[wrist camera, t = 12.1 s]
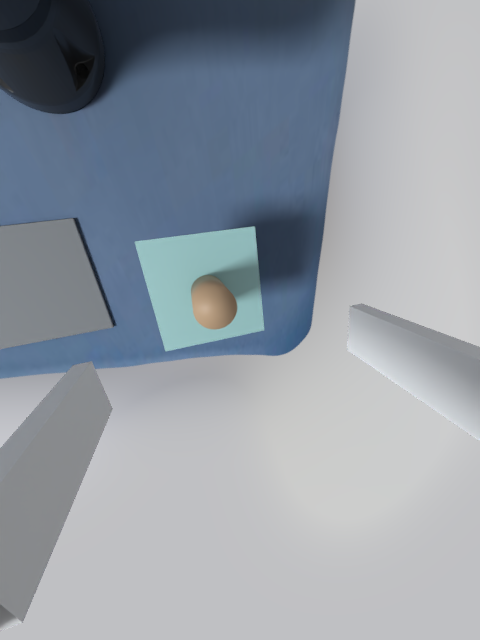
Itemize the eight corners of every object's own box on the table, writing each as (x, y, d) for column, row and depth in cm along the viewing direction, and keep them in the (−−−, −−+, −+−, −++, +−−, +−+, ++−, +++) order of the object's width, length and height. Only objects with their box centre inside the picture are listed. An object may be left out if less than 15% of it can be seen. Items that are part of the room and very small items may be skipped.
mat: (-69, 234, 30) (-72, 234, 30) (74, 218, 34) (72, 218, 33) (0, 348, 37) (-2, 349, 37) (114, 326, 40) (113, 327, 40)
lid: (136, 241, 24) (114, 242, 16) (252, 226, 26) (279, 221, 19) (166, 347, 28) (159, 385, 21) (261, 327, 31) (286, 355, 23)
